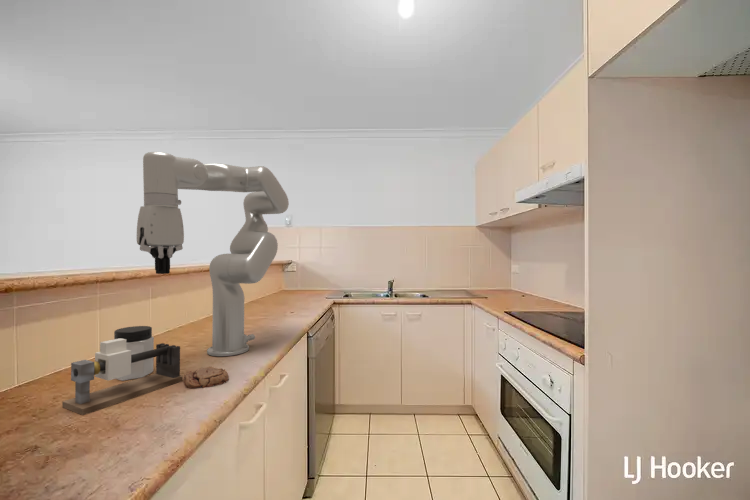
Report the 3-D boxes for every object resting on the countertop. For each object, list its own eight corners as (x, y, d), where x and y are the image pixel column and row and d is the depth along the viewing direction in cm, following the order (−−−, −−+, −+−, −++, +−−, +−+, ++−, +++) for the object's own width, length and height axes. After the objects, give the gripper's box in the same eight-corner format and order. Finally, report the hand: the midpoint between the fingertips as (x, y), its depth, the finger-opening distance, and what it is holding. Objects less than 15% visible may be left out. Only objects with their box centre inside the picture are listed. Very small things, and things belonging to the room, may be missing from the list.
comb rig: (162, 375, 92) (162, 339, 92) (182, 380, 88) (182, 343, 88) (62, 407, 73) (62, 361, 73) (82, 415, 69) (83, 367, 69)
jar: (110, 383, 86) (111, 334, 87) (112, 373, 93) (113, 328, 93) (153, 376, 91) (154, 329, 92) (153, 367, 98) (153, 324, 98)
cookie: (222, 388, 84) (222, 376, 84) (174, 390, 83) (175, 377, 83) (234, 374, 94) (234, 363, 94) (192, 376, 93) (192, 364, 93)
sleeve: (117, 370, 81) (117, 337, 81) (131, 374, 79) (131, 339, 79) (94, 376, 77) (95, 341, 77) (108, 380, 75) (108, 344, 75)
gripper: (178, 205, 99) (179, 271, 100) (121, 200, 86) (123, 275, 86) (196, 204, 96) (198, 271, 96) (141, 198, 82) (142, 276, 83)
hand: (162, 273), depth 91 cm, fingers closed
